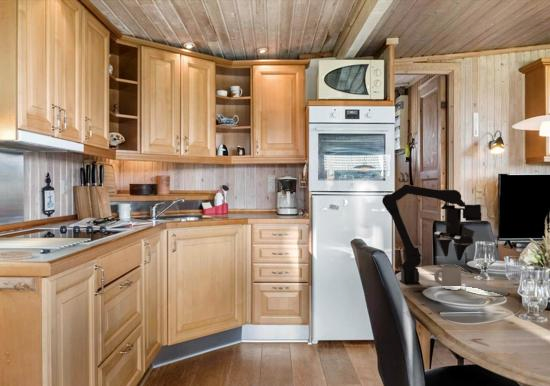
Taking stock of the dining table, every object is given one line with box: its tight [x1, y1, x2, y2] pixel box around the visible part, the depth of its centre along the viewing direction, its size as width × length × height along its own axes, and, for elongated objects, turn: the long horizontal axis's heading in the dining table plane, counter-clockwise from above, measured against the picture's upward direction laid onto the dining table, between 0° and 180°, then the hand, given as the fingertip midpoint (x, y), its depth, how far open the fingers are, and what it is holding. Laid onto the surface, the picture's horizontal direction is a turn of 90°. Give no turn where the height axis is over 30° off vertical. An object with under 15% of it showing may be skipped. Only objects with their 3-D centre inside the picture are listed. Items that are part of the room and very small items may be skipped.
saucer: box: [465, 284, 509, 297], centre depth 160 cm, size 15×15×1 cm
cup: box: [433, 264, 462, 287], centre depth 166 cm, size 7×10×9 cm
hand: (452, 258), depth 169 cm, fingers open, 9 cm apart
